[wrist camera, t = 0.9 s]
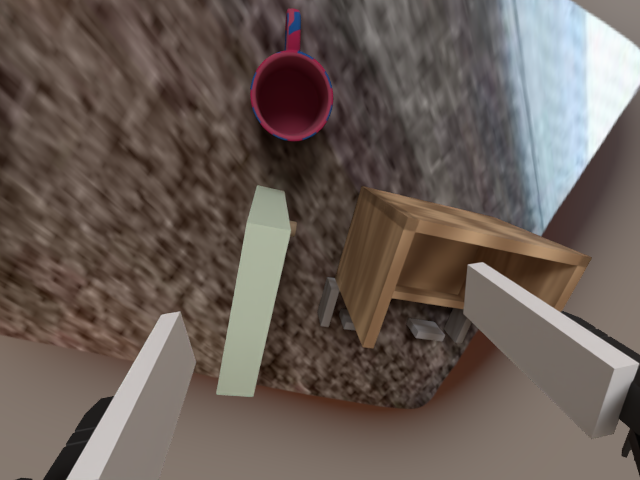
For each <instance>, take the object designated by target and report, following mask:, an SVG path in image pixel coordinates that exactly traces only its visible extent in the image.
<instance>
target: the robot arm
mask: <svg viewBox="0 0 640 480" xmlns="http://www.w3.org/2000/svg"><path fill="white" fill-rule="evenodd" d="M463 314H464V315H465V316H466V317H467V318H468V319H469V320H470V321H471V322H472V323H473V324H474V325H475V326H476V327H477V328H478V329H480V330H481V331H482V332H483V333H484V334H485V335H486V336H487V337H488V338H489V339H490V340H491V341H492V342H493V343H494V344H495V345H496V346H497V347H498V348H499V349H500V350H501V351H502V352H503V353H504V354H505V355H506V356H507V357H508V358H509V359H510V360H511V361H512V362H513V363H514V364H515V365H516V366H517V367H518V368H519V369H520V370H521V371H522V372H523V373H524V374H525V375H526V376H528V378H529V379H530V380H532V381H533V382H534V383H535V384H536V385H537V386H538V387H539V388H540V389H541V390H542V391H543V392H544V393H545V394H546V395H547V396H548V397H549V398H550V399H551V400H552V401H553V402H554V403H555V404H556V405H557V406H558V407H559V408H560V409H561V410H562V411H563V412H564V413H565V414H566V415H567V416H568V417H569V418H570V419H571V420H573V422H574V423H575V424H576V425H577V426H578V427H580V428H581V429H582V430H583V431H584V432H585V433H586V434H587V435H588V436H589V437H590V438H591V439H594V438H598V437H602V436H607V435H611V434H614V432H615V429H616V426H617V424H618V421H619V419H620V420H621V421H622V422H623V423H625V424H626V425H627V426H628V427H629V428H630V430H629V433H628V435H627V438H626V441H625V443H624V446H623V448H622V456H623V457H627V456H628V453H629V451H630V450H632V452H633V455H634V460H635V462H636V465H637V469H638V472H639V475H640V355H639V354H637V353H636V352H634V351H633V350H631V349H629V348H628V347H626V346H625V345H623V344H621V343H619V342H618V341H617V340H615V339H613V338H612V337H608V336H607V334H605V333H604V332H602V331H601V330H599V329H596V328H595V327H594V326H593V325H591V324H589V323H588V322H586V321H584V320H583V319H581V318H579V317H576V316H574V315H572V314H569V313H567V312H564V311H561V312H559V311H557V310H556V309H554V308H553V307H551V306H550V305H548V304H547V303H545V302H544V301H542V300H540V299H539V298H537V297H536V296H534V295H533V294H531V293H530V292H528V291H527V290H525V289H523V288H522V287H520V286H519V285H517V284H516V283H514V282H513V281H511V280H510V279H508V278H506V277H505V276H503V275H502V274H500V273H499V272H497V271H496V270H494V269H493V268H491V267H489V266H488V265H486V264H485V263H483V262H481V263H474V264H468V266H467V277H466V289H465V300H464V311H463ZM195 364H196V360H195V357H194V354H193V351H192V347H191V344H190V341H189V338H188V335H187V332H186V328H185V325H184V322H183V319H182V316H181V312H175V313H169V314H163V315H161V317H160V318H159V320H158V322H157V323H156V325H155V327H154V329H153V330H152V332H151V334H150V336H149V337H148V339H147V341H146V343H145V344H144V346H143V348H142V349H141V351H140V353H139V355H138V356H137V358H136V360H135V362H134V363H133V365H132V367H131V368H130V370H129V372H128V374H127V376H126V377H125V379H124V381H123V382H122V384H121V386H120V388H119V389H118V391H117V393H116V394H115V396H112V397H107V398H102V399H100V400H99V401H98V402H97V403H96V404H95V405H94V406H93V407H92V408H91V409H90V410H89V411H88V412H87V413H86V414H85V415H84V417H83V418H82V420H81V421H80V423H79V424H78V426H77V428H76V430H75V433H73V434H72V436H71V437H70V438H69V440H68V442H67V443H66V447H64V448H63V450H62V451H61V453H60V454H59V456H58V457H57V459H56V460H55V462H54V463H53V465H52V466H51V468H50V470H49V471H48V473H47V474H46V476H45V477H44V479H43V480H159V478H160V475H161V471H162V468H163V465H164V462H165V458H166V456H167V452H168V449H169V446H170V443H171V440H172V437H173V433H174V430H175V427H176V424H177V421H178V418H179V415H180V411H181V408H182V405H183V402H184V399H185V396H186V392H187V389H188V386H189V383H190V379H191V376H192V373H193V370H194V367H195ZM17 480H32V479H29V478H20V479H17Z"/></svg>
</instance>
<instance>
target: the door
mask: <svg viewBox="0 0 640 480" xmlns="http://www.w3.org/2000/svg"><path fill="white" fill-rule="evenodd" d="M296 227H297V222H294V221H289V216H288V210H287V204H286V198H285V193H284V191H281V190H277V189H272V188H267V187H263V186H258V185H257V188H256V192H255V195H254V199H253V203H252V206H251V210H250V213H249V217H248V221H247V225H246V231H245V236H244V242H243V248H242V253H241V259H240V264H239V270H238V275H237V281H236V287H235V292H234V298H233V303H232V309H231V314H230V320H229V326H228V331H227V337H226V342H225V348H224V353H223V359H222V365H221V370H220V376H219V381H218V387H217V392H216V394H217V395H232V396H247V397H253V395H254V391H255V386H256V382H257V377H258V373H259V369H260V364H261V360H262V356H263V351H264V347H265V342H266V338H267V334H268V329H269V325H270V321H271V316H272V312H273V307H274V303H275V299H276V294H277V290H278V286H279V281H280V277H281V272H282V268H283V264H284V259H285V255H286V251H287V246H288V242H289V237H290V236H292V237H294V235H295V232H296Z"/></svg>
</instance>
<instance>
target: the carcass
mask: <svg viewBox="0 0 640 480" xmlns="http://www.w3.org/2000/svg"><path fill="white" fill-rule="evenodd" d="M590 260H591V257H589V256H587V255H585V254H582V253H580V252H577V251H575V250H572V249H570V248H567V247H565V246H563V245H560V244H558V243H555V242H553V241H550V240H548V239H546V238H543V237H541V236H538V235H536V234H533V233H531V232H528V231H526V230H524V229H521V228H519V227H516V226H514V225H511V224H509V223H507V222H504V221H502V220H499V219H497V218H494V217H491V216H487V215H482V214H478V213H474V212H470V211H465V210H461V209H457V208H453V207H448V206H444V205H440V204H436V203H431V202H427V201H423V200H419V199H414V198H410V197H406V196H402V195H397V194H393V193H389V192H385V191H380V190H376V189H372V188H368V187H363V186H362V187H361V190H360V194H359V197H358V200H357V204H356V207H355V211H354V214H353V218H352V221H351V225H350V228H349V231H348V235H347V238H346V242H345V245H344V249H343V252H342V256H341V259H340V262H339V266H338V269H337V273H336V276H335V278H330V277H327V280H326V284H325V287H324V291H323V294H322V298H321V301H320V305H319V309H318V316H319V321H320V325H321V326H325V327H329V324H330V321H331V317H332V314H333V311H334V307H335V304H336V301H337V297H338V294H339V291H340V292H341V295H342V297H343V300H344V302H345V305H346V307H347V309H341V311H340V314H339V316H340V319H341V322H342V325H343V328H344V329H349V330H356V332H357V334H358V337H359V339H360V342H361V344H362V347H367V348H374V345H375V342H376V339H377V337H378V334H379V331H380V328H381V326H382V323H383V320H384V317H385V315H386V312H387V309H388V306H389V304H390V301H391V298H394V299H400V300H407V301H413V302H420V303H426V304H433V305H439V306H446V307H452V308H453V310H452V312H451V314H450V316H449V319H448V321H447V323H446V326H445V328H444V330H445V331H446V332H447V334H448V335H449V336H450V337H451V338H452V340H453V341H454V342H455V343H460V344H462V342H463V340H464V338H465V336H466V333H467V331H468V329H469V327H470V325H471V323H472V322H471V321H470V320H469V319H468V318H467V317H466V316H465V315H464V314H463V311H464V300H465V289H466V277H467V266H468V264H474V263H481V262H483V263H485V264H486V265H488V266H489V267H491V268H493V269H494V270H496V271H497V272H499V273H500V274H502V275H503V276H505V277H506V278H508V279H510V280H511V281H513V282H514V283H516V284H517V285H519V286H520V287H522V288H523V289H525V290H527V291H528V292H530V293H531V294H533V295H534V296H536V297H537V298H539V299H540V300H542V301H544V302H545V303H547V304H548V305H550V306H551V307H553V308H554V309H556V310H557V311H559V312H561V311H562V310H563V308H564V306H565V304H566V303H567V301H568V299H569V297H570V296H571V294H572V292H573V290H574V289H575V287H576V285H577V283H578V281H579V280H580V278H581V276H582V274H583V273H584V271H585V269H586V267H587V266H588V264H589V262H590ZM407 326H408V327H409V329H410V330H411V332H412V333H413V335H414V336H415V338H420V339H428V340H436V341H443V339H444V337H445V334H444V333H443V332H442V331H441V330H440V328H439V327H438V326H437V325H436V323H435V322H432V321H425V320H418V319H411V318H409V319H408V322H407Z"/></svg>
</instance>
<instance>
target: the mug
mask: <svg viewBox="0 0 640 480" xmlns="http://www.w3.org/2000/svg"><path fill="white" fill-rule="evenodd" d="M300 36H301V14H300V12H299V10H297V9H288V10H287V13H286V26H285V51H281V52H278V53H275V54H273V55H271V56H270V57H268V58H267V59H265V60H264V61H263V62H262V64H261V65H260V66H259V67H258V69H257V70H256V72H255V75H254V77H253V80H252V84H251V92H250V97H251V104H252V108H253V111H254V114H255V116H256V118H257V120H258V121H259V123H260V124H261V125H262V126H263V128H264V129H265V130H266V131H268V132H269V133H270V134H271V135H273V136H275V137H277V138H279V139H282V140H286V141H301V140H305V139H308V138H310V137H312V136H313V135H315V134H316V133H318V132H319V131H320V130H321V129H322V128H323V126H324V125H325V124H326V122H327V120H328V118H329V116H330V114H331V110H332V105H333V90H332V85H331V82H330V79H329V77H328V75H327V73H326V71H325V70H324V68H323V67H322V66H321V64H320V63H318V62H317V61H316V60H315V59H314V58H312V57H311V56H309V55H307V54H305V53H302V52H300Z"/></svg>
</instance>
